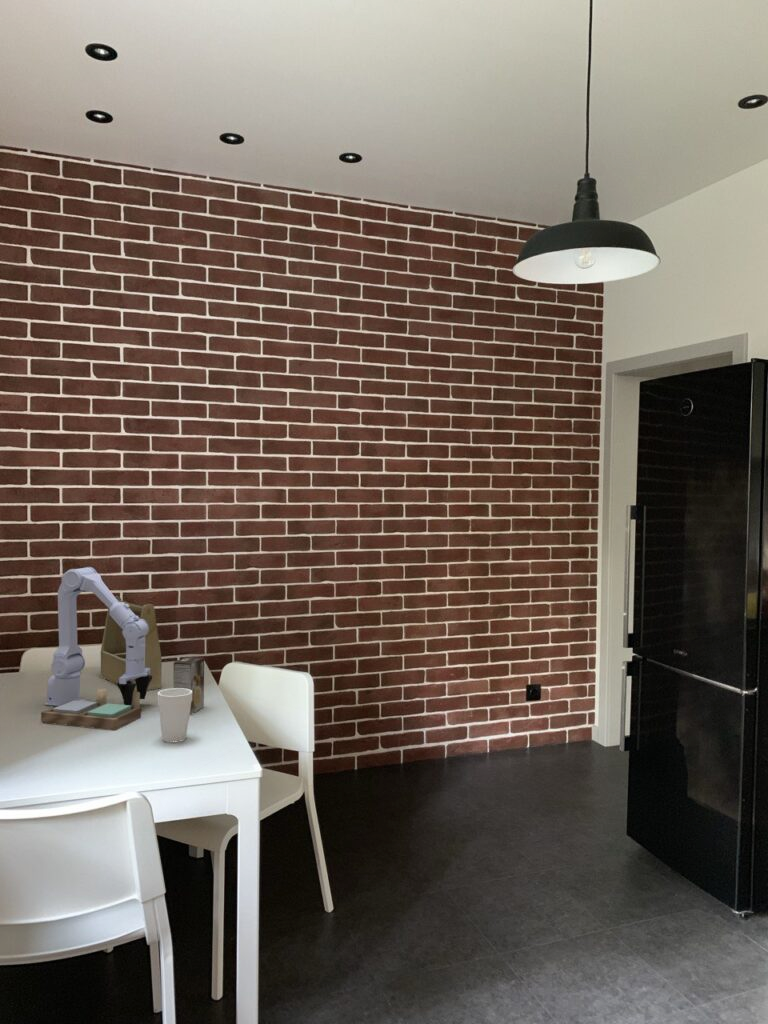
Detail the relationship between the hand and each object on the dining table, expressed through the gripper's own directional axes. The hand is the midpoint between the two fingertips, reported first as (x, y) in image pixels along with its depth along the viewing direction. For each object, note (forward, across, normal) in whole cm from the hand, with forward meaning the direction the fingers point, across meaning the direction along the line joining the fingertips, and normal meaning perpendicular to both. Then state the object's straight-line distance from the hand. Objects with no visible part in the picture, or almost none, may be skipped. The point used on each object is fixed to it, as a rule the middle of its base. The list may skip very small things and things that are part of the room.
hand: (134, 701), depth 236 cm
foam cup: (+3, -22, -26) cm, 35 cm away
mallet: (+3, -8, 0) cm, 9 cm away
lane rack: (+2, -13, +6) cm, 14 cm away
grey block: (+3, -8, +12) cm, 15 cm away
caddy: (+3, +30, +21) cm, 37 cm away
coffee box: (+3, +4, -16) cm, 17 cm away
